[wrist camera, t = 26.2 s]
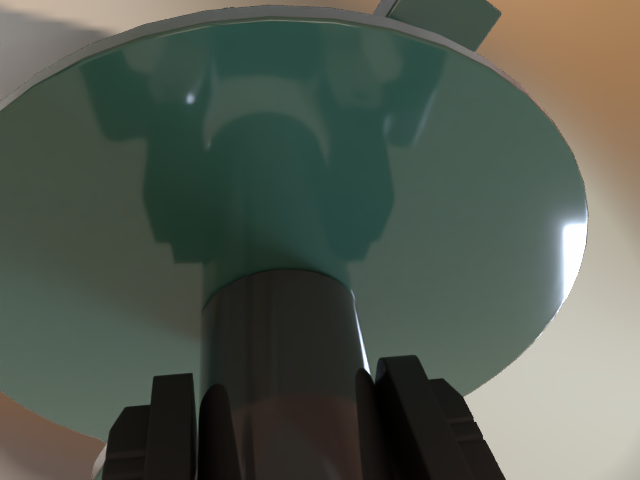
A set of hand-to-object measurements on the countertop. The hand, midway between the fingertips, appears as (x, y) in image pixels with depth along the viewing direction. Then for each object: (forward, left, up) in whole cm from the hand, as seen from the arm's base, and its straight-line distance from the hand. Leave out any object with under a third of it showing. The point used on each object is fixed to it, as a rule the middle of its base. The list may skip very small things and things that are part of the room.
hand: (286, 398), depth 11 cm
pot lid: (0, 0, -3) cm, 3 cm away
